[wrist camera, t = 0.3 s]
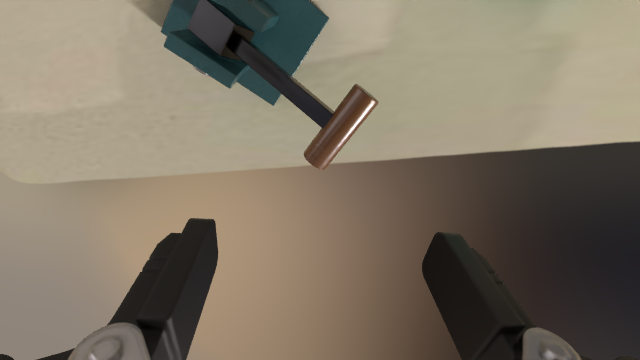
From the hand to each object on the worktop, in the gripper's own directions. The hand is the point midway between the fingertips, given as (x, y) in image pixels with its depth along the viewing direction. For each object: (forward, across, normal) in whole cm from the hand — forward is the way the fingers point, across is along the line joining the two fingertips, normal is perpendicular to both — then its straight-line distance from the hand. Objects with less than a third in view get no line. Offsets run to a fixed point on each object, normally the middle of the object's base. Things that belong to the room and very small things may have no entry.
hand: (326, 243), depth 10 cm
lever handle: (+13, +2, -3) cm, 13 cm away
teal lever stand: (+23, +6, -5) cm, 25 cm away
